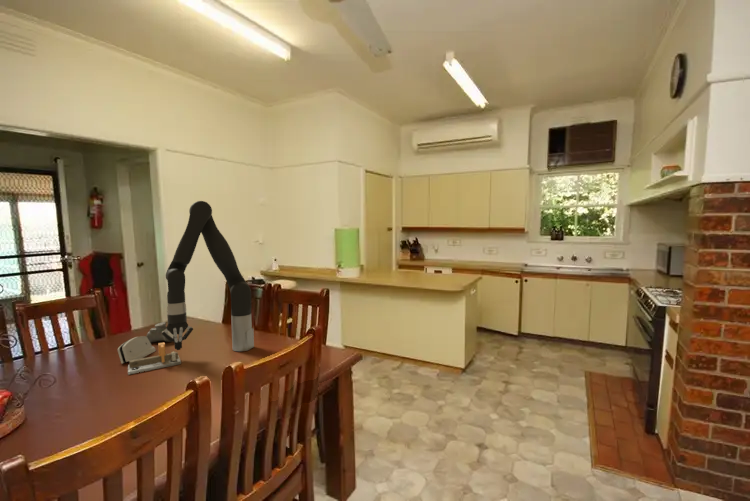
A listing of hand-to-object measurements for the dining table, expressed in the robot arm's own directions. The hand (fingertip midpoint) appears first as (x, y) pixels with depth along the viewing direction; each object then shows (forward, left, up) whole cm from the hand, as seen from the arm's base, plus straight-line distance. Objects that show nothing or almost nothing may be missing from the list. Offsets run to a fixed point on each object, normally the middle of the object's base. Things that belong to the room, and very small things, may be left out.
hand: (178, 349), depth 157 cm
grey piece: (+5, +8, -4) cm, 11 cm away
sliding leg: (+3, +6, -3) cm, 7 cm away
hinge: (+22, 0, -5) cm, 23 cm away
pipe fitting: (+28, -21, -5) cm, 35 cm away
